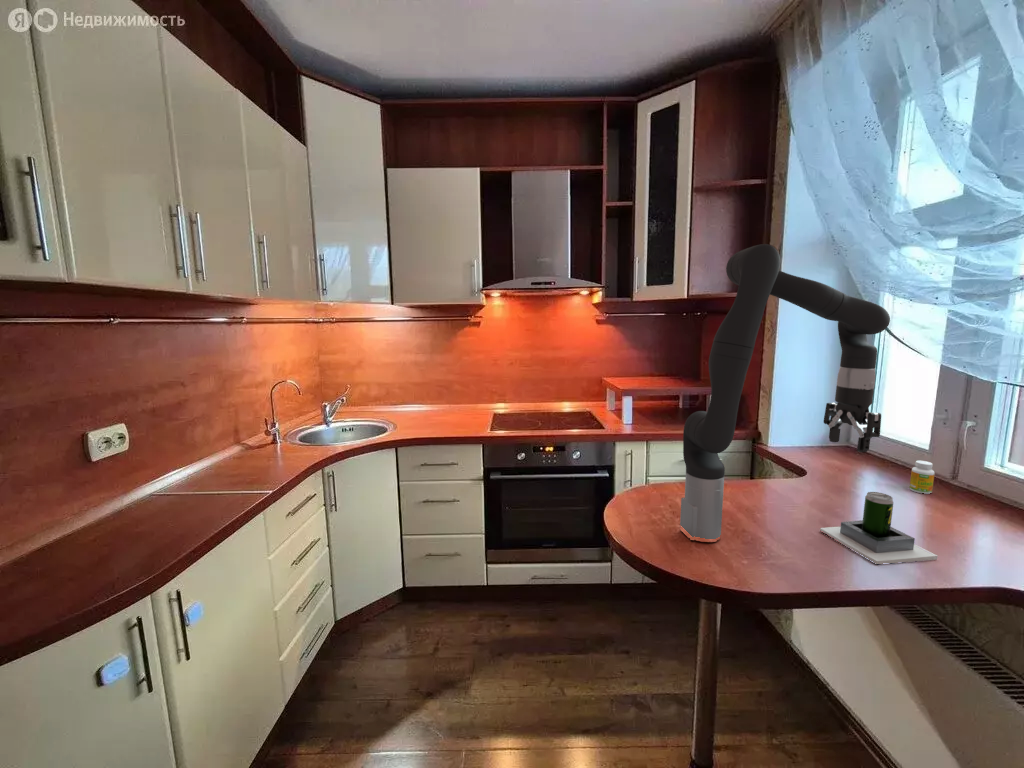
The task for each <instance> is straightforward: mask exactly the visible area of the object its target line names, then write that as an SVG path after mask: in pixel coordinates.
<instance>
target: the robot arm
mask: <svg viewBox="0 0 1024 768" xmlns="http://www.w3.org/2000/svg"><path fill="white" fill-rule="evenodd" d="M725 267H726V269H725V271H726V275H727V278H728V279H729V280H730V281H731V282H732V283H733V284H735V285H737V286H738V288H737V292H736V295H735V298H734V300H733V301H734V302H733V303H732V305H731V308H730V309H729V311H728V312H727V314H726V316H725V318H724V319H723V320H722V322H721V324H720V325H719V327H718V329H717V331H716V333H715V335H714V337H713V341H712V345H711V349H710V353H709V355H708V356H709V357H708V373H709V382H710V388H711V389H710V391H711V393H710V400H709V404H708V408H707V411H705V410H698V411H694V412H693V413H691V414H690V415H689V416H688V417H687V418H686V420H685V423H684V426H683V431H682V432H683V436H682V437H683V439H682V442H683V443H682V444H683V446H682V447H683V448H682V453H683V461H684V463H685V479H684V481H685V482H684V483H685V484H684V497H681V498H680V499H681V500H680V521H679V522H680V523H679V526H680V525H681V526H682V527H683V528H684V529H685V530H686V531H687V532H688V533H689V534H690V535H691V536H692V537H694V536H695V537H700V538H705V539H716V538H718V537H720V535H721V536H722V520H723V508H724V507H723V503H724V487H725V486H724V485H725V473H726V471H725V470H726V466H725V464H724V463H723V462H722V460H721V459H720V456H719V454H720V453H723V452H724V451H726V450H727V449H728V448H729V446H731V444H732V441H733V439H734V436H735V432H736V431H735V430H736V426H737V425H736V424H737V419H738V418H737V417H738V412H739V406H740V401H741V396H742V393H743V390H744V389H743V388H744V385H745V381H746V377H747V372H748V370H749V368H750V367H749V366H750V364H751V361H752V356H753V353H754V350H755V345H756V340H757V336H758V333H759V329H760V327H761V323H762V319H763V315H764V311H765V309H766V305H767V303H768V301H769V298H770V296H773V297H775V298H778V299H780V300H783V301H785V302H789V303H790V304H793V305H794V306H797V307H799V308H802V309H803V310H805V311H807V312H810V313H812V314H814V315H816V316H818V317H820V318H822V319H825V320H827V321H834V322H837V333H838V338H839V343H840V347H841V356H840V363H839V370H838V373H837V378H836V388H835V395H834V401H835V402H827V403H826V405H825V411H824V417H823V424H825V425H827V426H828V427H829V433H828V434H829V435H828V439H829V442H830V443H839V442H840V435H841V427H842V426H843V425H844V424H847V425H849V426H853V428H854V430H856V431H857V433H858V436H859V437H858V440H857V449H856V451H857V452H859V453H867V452H868V451H869V449H870V445H871V444H870V443H871V439H872V438H880V436H881V426H882V413H881V412H870V409H869V408H870V407H871V405H873V399H874V394H875V384H876V368H877V367H876V366H877V359H878V349H877V346H875V345H873V344H870V343H869V341H868V339H867V336H868V335H876V334H879V333H882V332H884V331H885V330H886V329H887V328H888V327H889V325H890V321H891V317H890V314H889V312H888V311H887V309H885V307H883V306H881V305H880V304H878V303H874V302H871V301H868V300H865V299H863V298H859V297H856V296H855V297H854V296H850V295H849V294H845V292H843V291H841V290H838V289H836V288H834V287H832V286H830V285H828V284H825V283H823V282H819V281H816V280H813V279H809V278H805V277H801V276H798V275H794V274H790V273H788V272H785V271H782V270H780V268H781V256H780V254H779V252H778V250H777V248H776V247H775V246H773V245H771V244H768V243H763V244H757V245H752V246H750V247H747V248H744V249H742V250H739V251H737V252H735V253H734V254H733V255H731V256H730V258H729V259H728V261H727V262H726V266H725Z"/></svg>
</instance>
